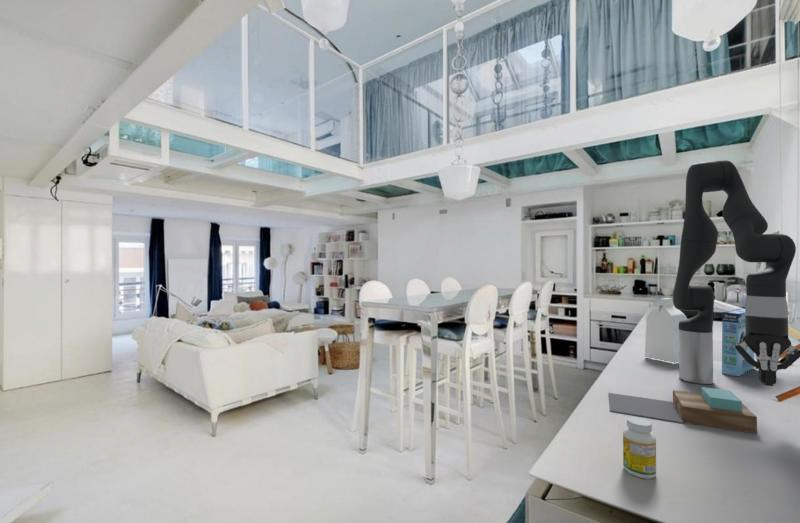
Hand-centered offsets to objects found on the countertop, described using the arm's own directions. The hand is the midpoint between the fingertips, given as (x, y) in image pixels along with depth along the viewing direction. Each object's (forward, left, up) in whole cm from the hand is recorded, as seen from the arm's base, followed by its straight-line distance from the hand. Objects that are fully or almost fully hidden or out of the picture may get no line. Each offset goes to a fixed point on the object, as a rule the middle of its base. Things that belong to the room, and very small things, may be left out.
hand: (767, 384), depth 91 cm
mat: (0, -26, -10) cm, 28 cm away
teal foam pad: (0, -9, -5) cm, 10 cm away
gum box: (-60, +10, -11) cm, 62 cm away
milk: (-68, -11, -11) cm, 70 cm away
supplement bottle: (+39, -30, -11) cm, 50 cm away
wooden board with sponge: (0, -11, -10) cm, 15 cm away
